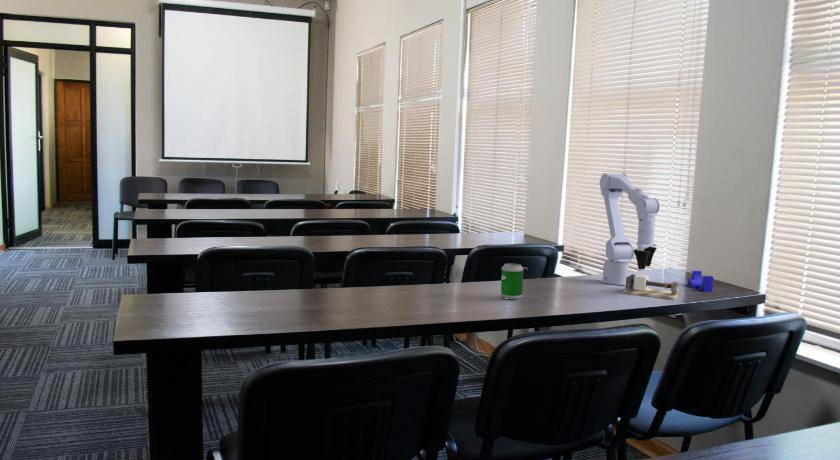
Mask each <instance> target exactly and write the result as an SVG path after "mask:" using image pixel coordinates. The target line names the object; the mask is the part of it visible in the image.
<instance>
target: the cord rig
mask: <svg viewBox="0 0 840 460" xmlns="http://www.w3.org/2000/svg"><path fill="white" fill-rule="evenodd" d="M634 276H636V274H634V273H633V274H632V273H631V274H630V275H628V277H626V286H625V287H624V288H625V289H624V290H623V294H626V295H627V294H628V295H633V296H641V295H642V297H648V296H649V298H657V299H664V300H665V299H666V300H672V301H675V300H676V299H677V298H678V297H679V296H681V291H680V281H672V282H670V283H669V282H658V281H650V280H649V281H646V285H648V289H647V290H645V291H640V290H634ZM649 286H650V287H656V288H657V287H658V288H663V289H656V288H649ZM667 289H670V290H667Z"/></svg>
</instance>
